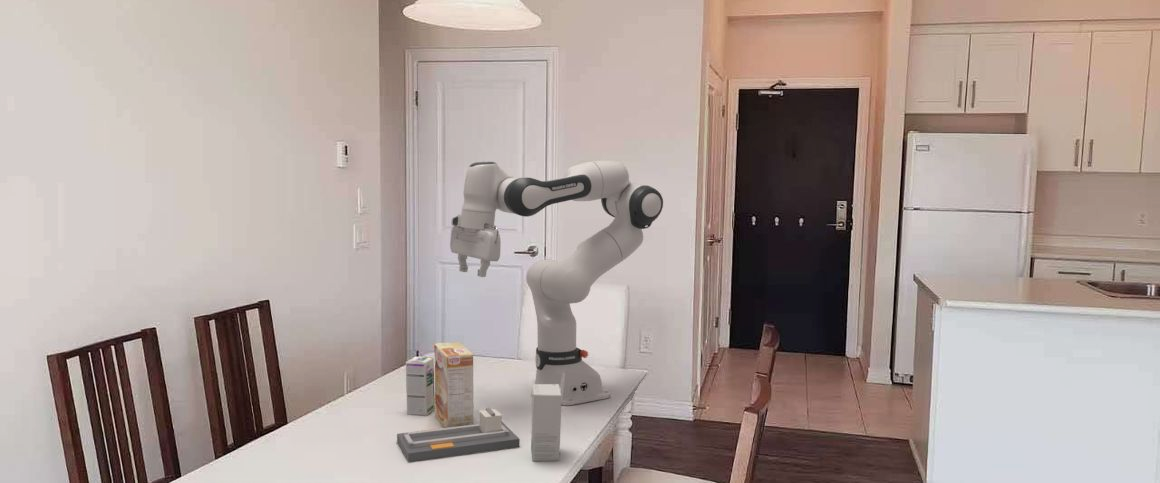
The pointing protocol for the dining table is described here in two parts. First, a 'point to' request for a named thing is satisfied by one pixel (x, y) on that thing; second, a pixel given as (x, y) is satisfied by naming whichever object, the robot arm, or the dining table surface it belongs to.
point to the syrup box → (420, 386)
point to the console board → (454, 442)
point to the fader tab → (490, 421)
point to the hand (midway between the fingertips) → (472, 274)
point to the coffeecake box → (453, 385)
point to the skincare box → (546, 422)
